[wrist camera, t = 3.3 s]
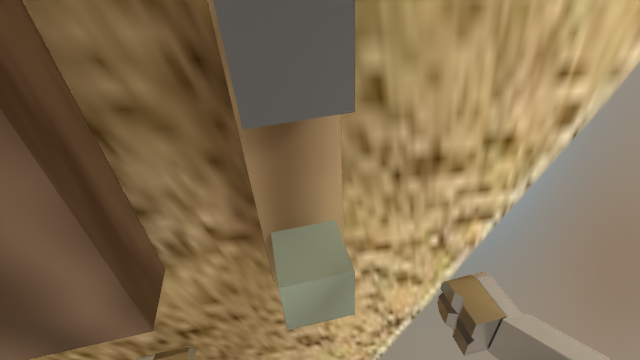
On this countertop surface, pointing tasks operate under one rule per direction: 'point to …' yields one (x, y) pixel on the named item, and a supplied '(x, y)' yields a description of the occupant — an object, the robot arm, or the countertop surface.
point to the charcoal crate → (289, 58)
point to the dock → (61, 215)
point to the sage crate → (313, 274)
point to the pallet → (290, 168)
